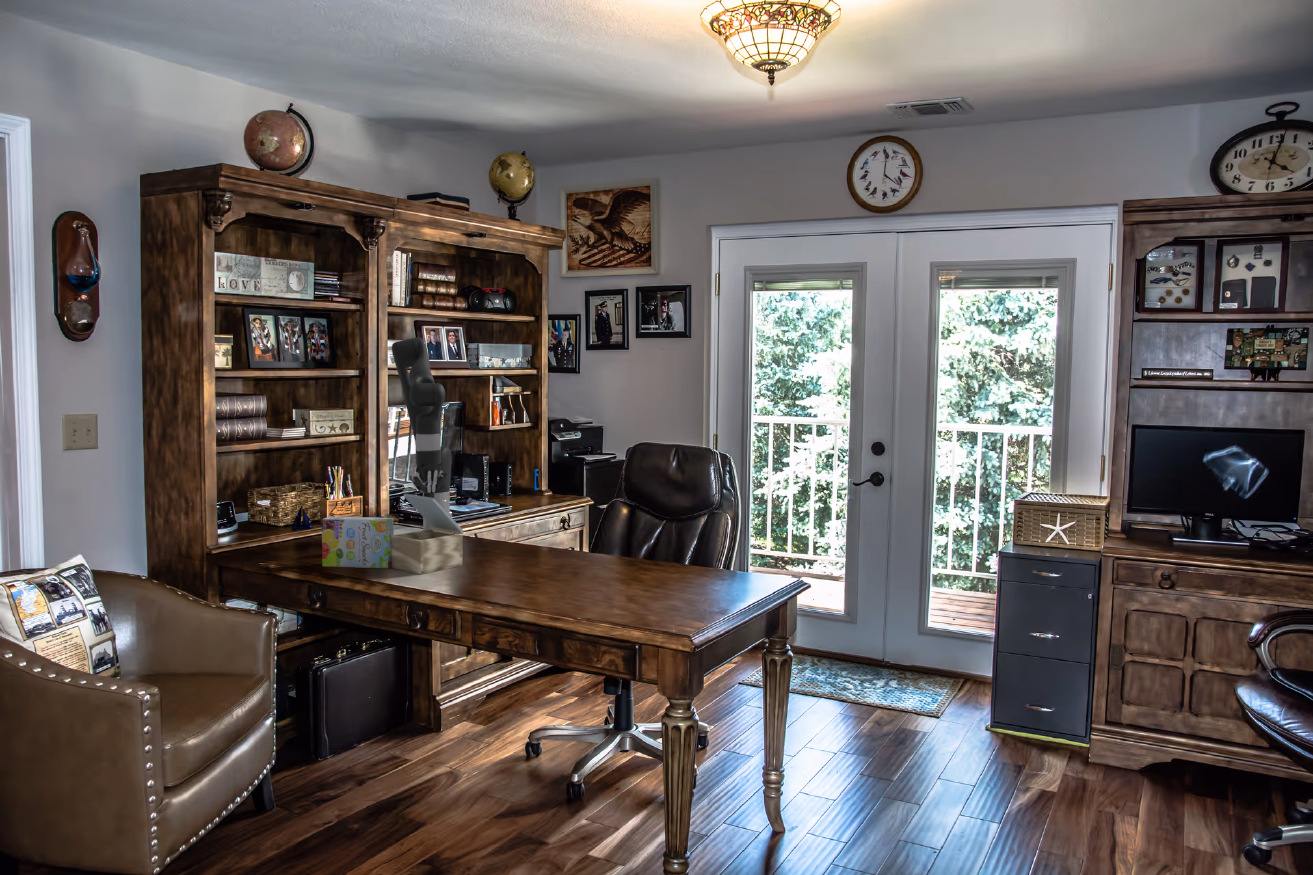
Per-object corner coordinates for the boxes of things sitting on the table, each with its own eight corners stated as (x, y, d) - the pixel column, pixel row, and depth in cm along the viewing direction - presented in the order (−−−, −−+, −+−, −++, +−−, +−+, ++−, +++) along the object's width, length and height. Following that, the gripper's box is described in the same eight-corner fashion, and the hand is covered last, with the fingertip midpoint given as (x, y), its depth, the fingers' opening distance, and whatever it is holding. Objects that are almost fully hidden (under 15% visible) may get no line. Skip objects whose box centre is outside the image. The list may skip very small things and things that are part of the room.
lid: (433, 529, 299) (435, 526, 300) (462, 535, 290) (464, 531, 291) (402, 496, 289) (404, 493, 289) (431, 501, 280) (433, 498, 281)
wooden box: (433, 559, 300) (433, 528, 299) (462, 565, 291) (462, 534, 290) (391, 567, 287) (391, 535, 286) (420, 574, 279) (420, 541, 278)
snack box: (394, 565, 291) (394, 517, 290) (387, 569, 286) (387, 520, 284) (329, 563, 293) (328, 515, 292) (321, 566, 288) (320, 518, 286)
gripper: (437, 446, 294) (438, 500, 296) (402, 449, 284) (403, 505, 285) (453, 447, 290) (454, 503, 291) (418, 450, 279) (419, 508, 281)
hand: (429, 504), depth 288 cm, fingers closed
